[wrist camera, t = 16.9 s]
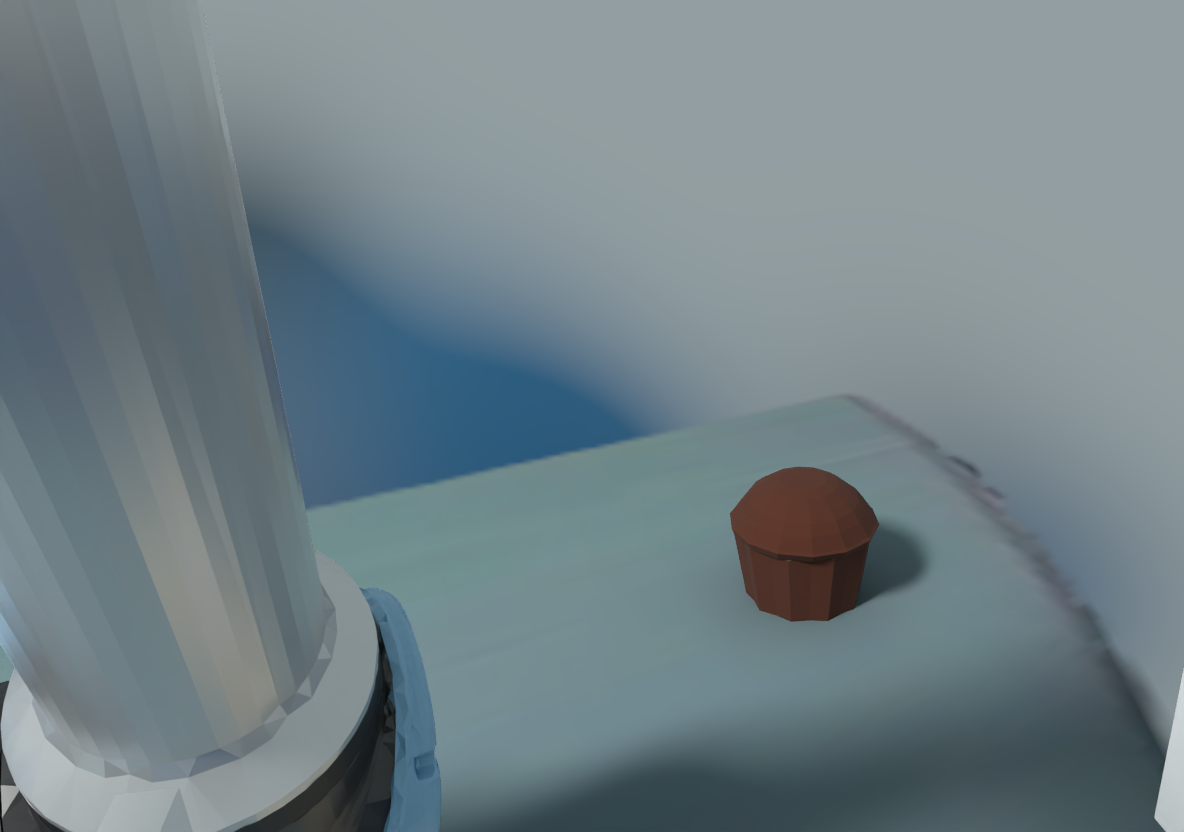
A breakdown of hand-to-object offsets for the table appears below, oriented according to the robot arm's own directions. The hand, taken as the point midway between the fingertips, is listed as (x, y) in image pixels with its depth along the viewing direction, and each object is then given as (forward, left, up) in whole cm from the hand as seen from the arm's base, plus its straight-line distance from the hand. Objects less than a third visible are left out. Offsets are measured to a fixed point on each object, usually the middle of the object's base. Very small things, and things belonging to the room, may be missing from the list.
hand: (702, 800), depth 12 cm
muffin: (-38, +42, -32) cm, 65 cm away
